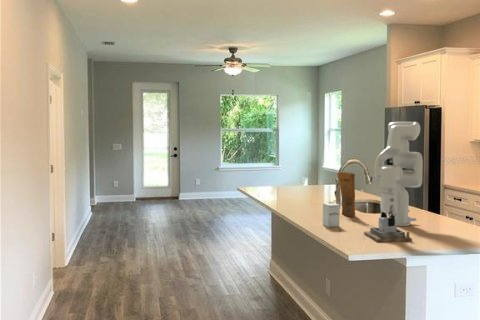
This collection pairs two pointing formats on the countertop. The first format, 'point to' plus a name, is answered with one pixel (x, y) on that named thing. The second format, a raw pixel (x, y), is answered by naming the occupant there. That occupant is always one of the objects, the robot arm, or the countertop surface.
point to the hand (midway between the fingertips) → (387, 224)
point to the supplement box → (331, 214)
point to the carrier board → (387, 235)
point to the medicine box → (386, 225)
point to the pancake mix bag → (347, 193)
